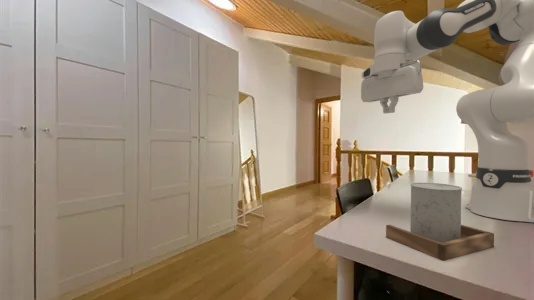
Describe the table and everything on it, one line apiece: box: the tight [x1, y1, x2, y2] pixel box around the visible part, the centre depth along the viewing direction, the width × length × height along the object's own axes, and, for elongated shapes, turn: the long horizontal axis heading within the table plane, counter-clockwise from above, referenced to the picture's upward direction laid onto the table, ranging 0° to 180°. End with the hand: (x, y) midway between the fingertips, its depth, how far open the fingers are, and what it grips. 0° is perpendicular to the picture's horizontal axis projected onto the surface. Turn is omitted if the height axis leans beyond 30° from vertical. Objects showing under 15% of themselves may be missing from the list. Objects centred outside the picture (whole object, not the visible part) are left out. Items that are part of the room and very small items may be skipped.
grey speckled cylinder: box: [409, 182, 463, 243], centre depth 58 cm, size 10×10×12 cm
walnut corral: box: [385, 224, 495, 261], centre depth 57 cm, size 16×13×3 cm
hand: (388, 113), depth 80 cm, fingers closed
